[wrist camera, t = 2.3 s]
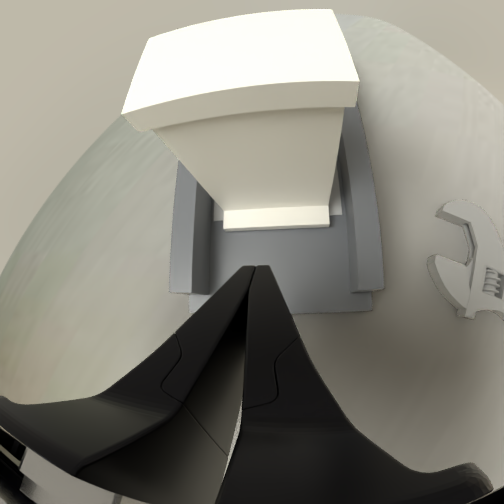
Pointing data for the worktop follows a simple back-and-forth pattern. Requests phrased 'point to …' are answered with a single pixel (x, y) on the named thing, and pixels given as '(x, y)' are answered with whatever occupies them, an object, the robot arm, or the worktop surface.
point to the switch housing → (288, 240)
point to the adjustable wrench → (471, 263)
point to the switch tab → (251, 111)
